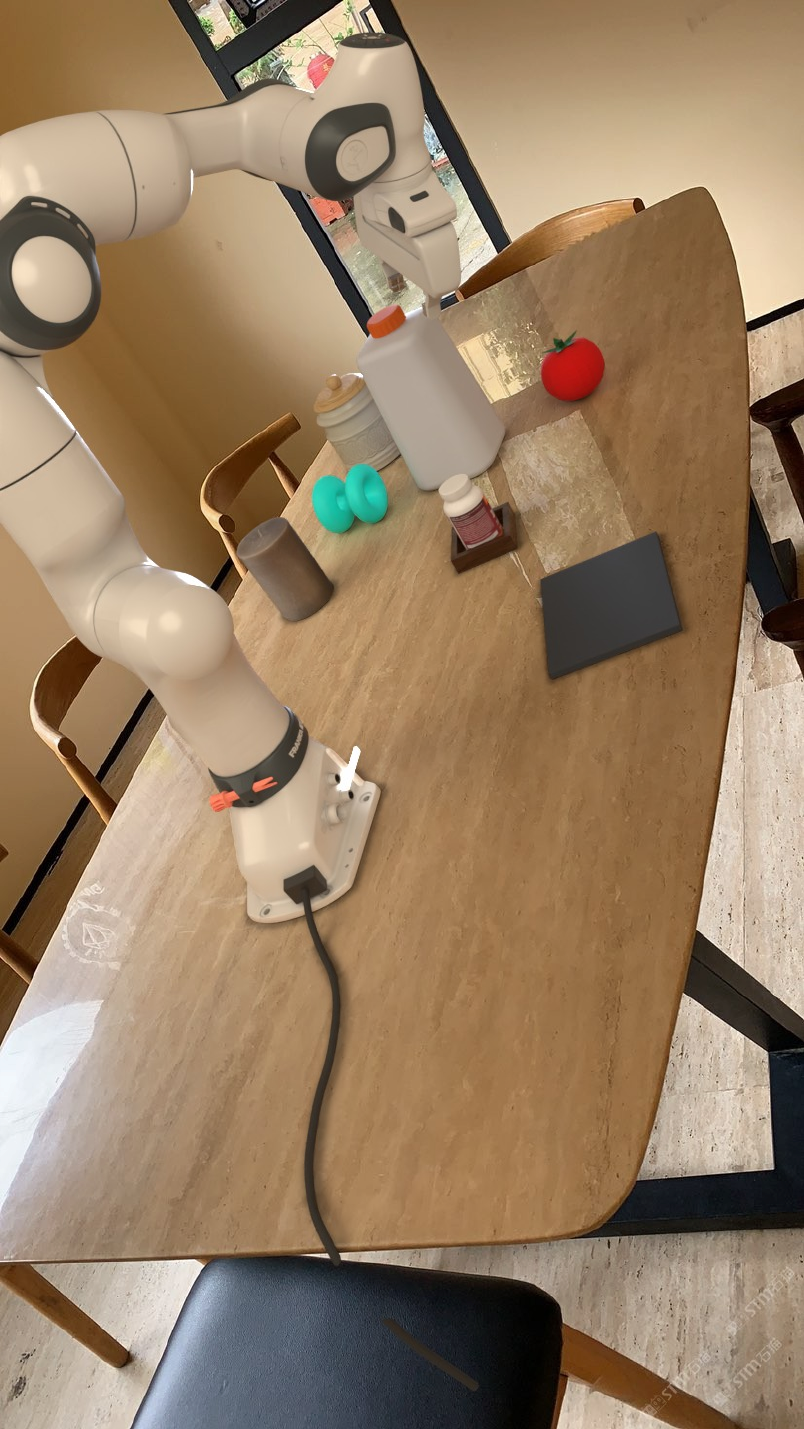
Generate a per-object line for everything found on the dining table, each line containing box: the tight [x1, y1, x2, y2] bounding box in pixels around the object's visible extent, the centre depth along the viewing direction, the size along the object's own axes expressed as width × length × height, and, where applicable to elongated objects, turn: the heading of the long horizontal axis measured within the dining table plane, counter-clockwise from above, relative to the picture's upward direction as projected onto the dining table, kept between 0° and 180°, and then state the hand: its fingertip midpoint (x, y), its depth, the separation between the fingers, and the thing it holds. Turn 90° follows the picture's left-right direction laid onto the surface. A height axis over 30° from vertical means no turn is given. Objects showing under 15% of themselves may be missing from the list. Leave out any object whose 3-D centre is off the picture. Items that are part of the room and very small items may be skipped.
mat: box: [539, 531, 684, 680], centre depth 127 cm, size 20×16×1 cm
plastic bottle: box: [355, 303, 506, 492], centre depth 168 cm, size 15×15×28 cm
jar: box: [313, 372, 401, 472], centre depth 191 cm, size 13×13×18 cm
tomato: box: [539, 329, 606, 402], centre depth 169 cm, size 10×10×10 cm
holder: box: [450, 501, 518, 575], centre depth 152 cm, size 9×9×2 cm
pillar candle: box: [235, 516, 335, 622], centre depth 164 cm, size 10×10×15 cm
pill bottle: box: [438, 474, 504, 551], centre depth 150 cm, size 6×6×11 cm
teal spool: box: [311, 464, 389, 534], centre depth 176 cm, size 10×10×10 cm
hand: (414, 302), depth 131 cm, fingers open, 8 cm apart
